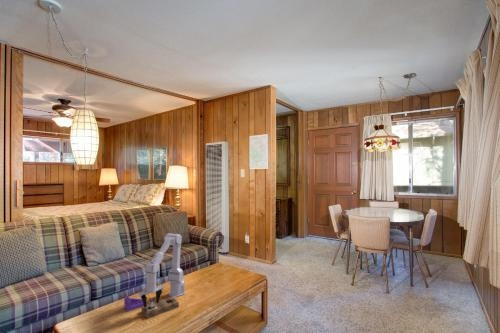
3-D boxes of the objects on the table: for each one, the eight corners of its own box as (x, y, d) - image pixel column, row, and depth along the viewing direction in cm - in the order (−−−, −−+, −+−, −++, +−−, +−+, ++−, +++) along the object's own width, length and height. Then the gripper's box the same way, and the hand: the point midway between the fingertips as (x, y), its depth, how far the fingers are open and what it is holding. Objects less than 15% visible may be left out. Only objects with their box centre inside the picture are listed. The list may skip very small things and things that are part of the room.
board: (171, 301, 175) (171, 296, 175) (178, 307, 168) (178, 302, 168) (141, 311, 162) (141, 306, 162) (147, 318, 155) (147, 313, 155)
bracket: (127, 312, 162) (128, 301, 162) (124, 307, 167) (124, 297, 167) (147, 305, 170) (147, 294, 170) (143, 301, 175) (143, 291, 175)
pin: (154, 310, 163) (154, 298, 163) (154, 313, 160) (154, 300, 160) (149, 311, 162) (149, 298, 162) (149, 314, 159) (149, 301, 159)
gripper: (160, 277, 169) (159, 298, 169) (137, 283, 159) (136, 306, 159) (164, 280, 164) (164, 302, 164) (141, 287, 154) (140, 310, 154)
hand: (151, 304), depth 161 cm, fingers open, 7 cm apart
